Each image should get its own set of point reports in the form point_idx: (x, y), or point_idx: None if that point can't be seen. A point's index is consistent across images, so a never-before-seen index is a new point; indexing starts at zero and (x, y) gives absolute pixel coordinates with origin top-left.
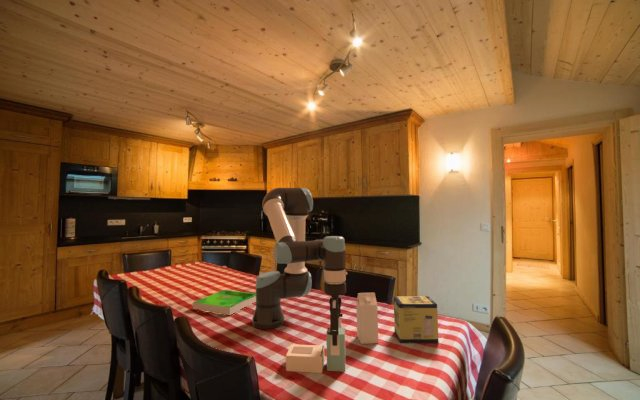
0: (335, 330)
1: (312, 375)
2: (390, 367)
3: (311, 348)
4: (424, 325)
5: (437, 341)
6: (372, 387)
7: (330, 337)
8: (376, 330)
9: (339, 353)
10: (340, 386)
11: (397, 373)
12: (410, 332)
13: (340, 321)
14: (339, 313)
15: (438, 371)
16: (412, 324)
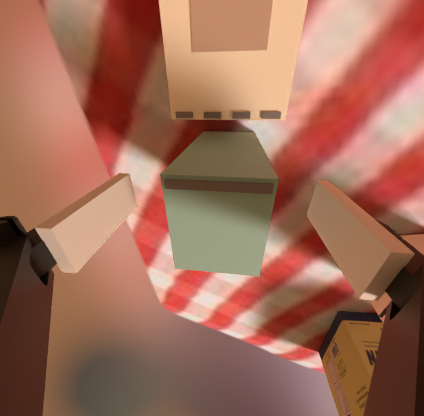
0: (225, 230)
1: (166, 77)
2: (230, 275)
3: (252, 38)
4: (341, 388)
5: (320, 354)
6: (153, 237)
7: (55, 214)
8: (376, 308)
9: (133, 208)
10: (137, 174)
11: (209, 280)
12: (342, 352)
13: (345, 275)
14: (382, 346)
15: (221, 325)
16: (351, 380)
